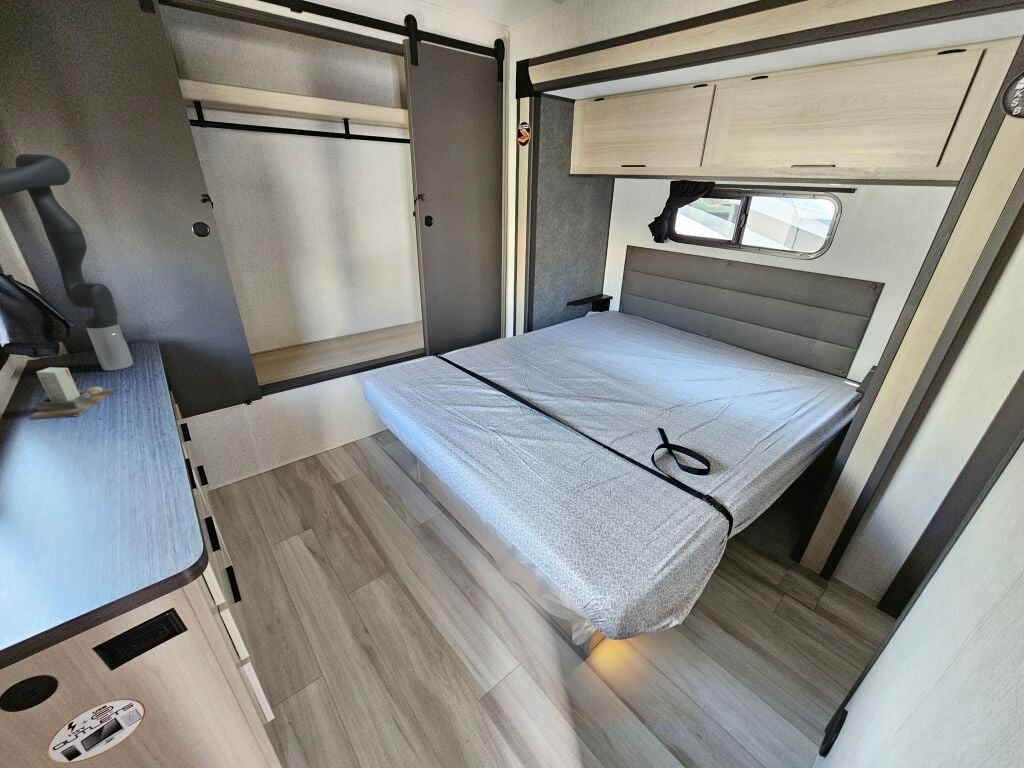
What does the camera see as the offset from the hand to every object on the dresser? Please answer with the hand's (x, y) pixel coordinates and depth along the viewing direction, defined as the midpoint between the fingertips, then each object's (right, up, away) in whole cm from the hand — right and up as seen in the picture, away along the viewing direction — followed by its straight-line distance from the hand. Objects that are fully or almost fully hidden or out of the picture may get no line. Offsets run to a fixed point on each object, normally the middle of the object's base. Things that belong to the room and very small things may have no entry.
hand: (3, 312), depth 127 cm
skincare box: (+11, -29, +8) cm, 32 cm away
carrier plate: (+11, -29, +10) cm, 33 cm away
